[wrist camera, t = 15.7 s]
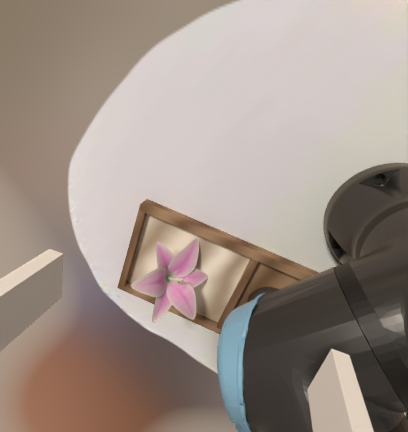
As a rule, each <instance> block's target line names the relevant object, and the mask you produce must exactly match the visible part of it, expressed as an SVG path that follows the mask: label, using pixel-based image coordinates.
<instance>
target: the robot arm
mask: <svg viewBox="0 0 408 432" xmlns="http://www.w3.org/2000/svg"><path fill="white" fill-rule="evenodd" d="M324 233H325V237H326V240H327V242H328V244H329V247H330V249H331V251H332V252H333V254H334V255H335V257H336V258H337V259H338V260H339V261H340V262H341V263H342V265H339V266H337V267H333V268H330V269H328V270H326V271H323V272H321V273H318V274H316V275H313V276H311V277H309V278H306V279H304V280H301V281H299V282H296V283H294V284H292V285H289V286H287V287H284V288H282V289H279V290H277V291H274V292H272V293H269V294H268V293H263V294H260V295H258V296H257V297H256V298H255V299H254V300H252V301H250V302H248V303H245V304H243V305H241V306H239V307H237V308H236V309H234V310H233V311H232V312H231V313H230V314H229V315H228V316H227V318H226V319H225V321H224V324H223V326H222V332H221V334H220V336H219V342H218V351H217V368H218V378H219V385H220V390H221V395H222V399H223V402H224V405H225V408H226V410H227V413H228V416H229V418H230V420H231V421H232V422H233V423H235V424H236V429H237V430H238V432H408V421H407V419H406V417H405V415H404V412H407V411H408V164H406V163H390V164H383V165H378V166H375V167H372V168H369V169H366V170H364V171H362V172H360V173H358V174H356V175H354V176H353V177H351V178H350V179H349V180H347V181H346V182H345V183H344V184H343V185H342V186H341V187H340V188H339V189H338V190H337V191H336V192H335V193H334V195H333V196H332V198H331V199H330V201H329V203H328V205H327V208H326V211H325V215H324ZM62 277H63V254H62V253H60V252H57V251H54V250H51V249H49V250H47V251H45V252H44V253H42V254H40V255H39V256H37V257H36V258H34V259H32V260H31V261H29V262H28V263H26V264H24V265H23V266H21V267H19V268H18V269H16V270H14V271H13V272H11V273H10V274H8V275H7V276H5V277H3V278H2V279H0V351H1V350H2V349H4V348H5V347H6V346H7V345H8V344H9V343H10V342H11V341H12V340H14V339H15V338H16V337H17V336H18V335H19V334H21V333H22V332H23V331H24V330H25V329H26V328H27V327H29V326H30V325H31V324H32V323H33V322H34V321H35V320H37V319H38V318H39V317H40V316H41V315H42V314H43V313H44V312H46V311H47V310H48V309H49V308H50V307H51V306H52V305H54V304H55V303H56V302H57V301H58V300H59V299H60V298H62Z"/></svg>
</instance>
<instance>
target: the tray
mask: <svg viewBox="0 0 408 432" xmlns="http://www.w3.org/2000/svg"><path fill="white" fill-rule="evenodd" d="M196 238H198V239H199V253H198V259H197V264H196V266H195V269H198V270H200V271H202V272H204V273H206V274H207V275H208V277H207V279H206V280H205V281H203V282H202V283H201V284H199V285H198V286H196V287H194V288H193V289H194V292H195V296H196V317H195V319H194V320H191V319H189V318H188V317H186V316H185V315H183V314H182V313H181V312H180V311H178V310H177V309H176V308H175V307H174V306H173V305H172V306H171V307H170V309H169V310H168V311H170V312H172V313H174V314H177V315H179V316H181V317H183V318H185V319H188V320H190V321H192V322H194V323H196V324H199V325H201V326H203V327H205V328H207V329H210V330H212V331H214V332H216V333H218V334H221V332H222V326H223V324H224V321H225V319H226V318H227V316H228V315H229V314H230V313H231V312H232V311H233V310H234V309H236V308H237V307H239V306H241V305H243V304H245V303H247V300H248V297H249V295H250V294H251V293H252V292H253V291H255V290H256V289H259V288H262V287H273V288H277V289H282V288H284V287H287V286H289V285H292V284H294V283H296V282H299V281H301V280H304V279H306V278H309V277H311V276H313V275H316V274H318V272H316V271H314V270H311V269H309V268H307V267H304V266H302V265H300V264H297V263H295V262H293V261H290V260H288V259H286V258H283V257H281V256H279V255H276V254H274V253H272V252H269V251H267V250H265V249H262V248H260V247H258V246H255V245H253V244H251V243H248V242H246V241H244V240H241V239H239V238H237V237H234V236H232V235H230V234H227V233H225V232H223V231H220V230H218V229H216V228H213V227H211V226H209V225H206V224H204V223H202V222H199V221H197V220H195V219H192V218H190V217H188V216H185V215H183V214H181V213H178V212H176V211H174V210H171V209H169V208H167V207H164V206H162V205H160V204H157V203H155V202H153V201H150V200H148V199H147V200H145V201H144V202H143V203H141V204H140V208H139V211H138V215H137V219H136V222H135V226H134V230H133V233H132V237H131V241H130V244H129V248H128V251H127V255H126V259H125V262H124V266H123V270H122V273H121V277H120V281H119V284H118V288H119V289H122V290H124V291H126V292H128V293H130V294H133V295H135V296H137V297H139V298H141V299H144V300H146V301H148V302H150V303H152V304H155V300H156V297H152V296H148V295H146V294H143V293H140V292H138V291H136V290H134V289H132V287H131V284H132V283H133V282H134V281H136V280H137V279H139V278H141V277H142V276H144V275H146V274H148V273H150V272H151V271H153V270H155V269H157V268H158V265H157V255H156V243H157V242H160V243H162V244H163V245H164V246H166V247H167V248H168V249H169V250H170V251H171V252H172V253H173V254H174V256H176V255H177V254H178V253H179V252H180V251H181V250H183V249H184V248H185V247H186V246H187V245H188V244H189V243H190V242H192V241H193V240H194V239H196Z"/></svg>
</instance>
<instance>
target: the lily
mask: <svg viewBox="0 0 408 432" xmlns="http://www.w3.org/2000/svg"><path fill="white" fill-rule="evenodd" d="M198 253H199V239H198V238H196V239H194V240H193V241H192V242H190V243H189V244H188V245H187V246H186V247H185V248H184V249H183V250H181V251H180V252H179V253H178V254H177V255H176V256H174V254H173V253H172V252H171V251H170V250H169V249H168V248H167V247H166V246H164V245H163V244H162V243H160V242H157V243H156V255H157V265H158V268H157V269H155V270H153V271H151V272H150V273H148V274H146V275H144V276H142V277H141V278H139V279H137V280H136V281H134V282H133V283H132V284H131V287H132V289H134V290H136V291H138V292H140V293H143V294H146V295H148V296H152V297H156V300H155V305H154V311H153V317H152V322H153V323H154V322H156V321H157V320H159V319H160V318H161V317H162V316H163V315H164V314H165V313H166V312H167V311H168V310H169V309H170V307H171V306H172V305H173V306H174V307H175V308H176V309H177V310H178V311H180V312H181V313H182V314H183V315H185V316H186V317H188V318H189V319H191V320H194V319H195V317H196V296H195V292H194V289H193V288H194V287H196V286H198V285H199V284H201V283H202V282H203V281H205V280H206V279H207V277H208V275H207V274H206V273H204V272H202V271H200V270H198V269H195V266H196V264H197V259H198Z"/></svg>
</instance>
